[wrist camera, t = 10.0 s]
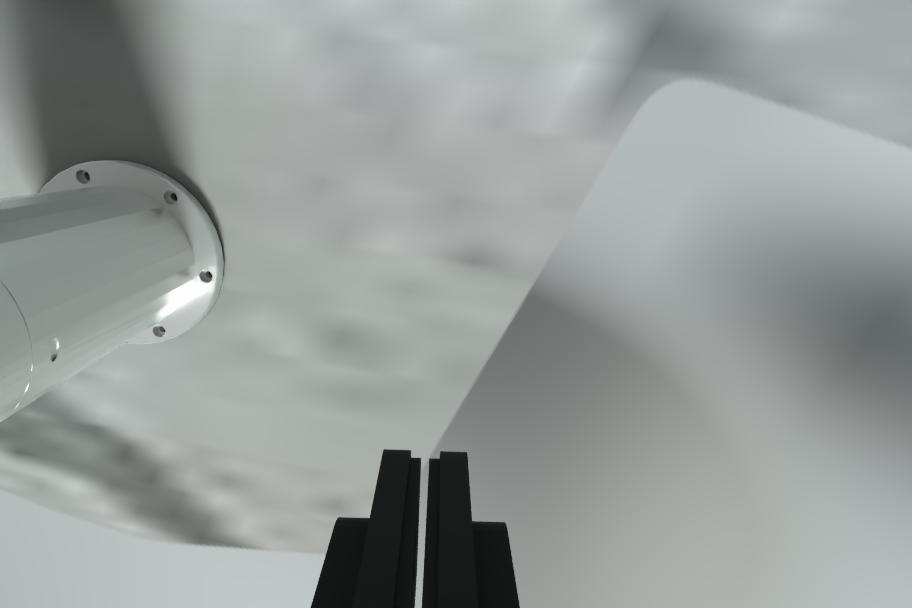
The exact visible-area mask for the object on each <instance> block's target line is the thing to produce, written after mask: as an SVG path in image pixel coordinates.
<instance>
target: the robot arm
mask: <svg viewBox="0 0 912 608" xmlns="http://www.w3.org/2000/svg"><path fill="white" fill-rule="evenodd" d="M89 175H90V177H89ZM174 194H176V195H177V198H178V200H177V199H175V197H174ZM223 267H224V262H223V254H222V246H221V243H220V240H219V237H218V234H217V231H216V229H215V227H214V225H213V223H212V221H211V219H210V217H209V216H208V214H207V212H206V211H205V210H204V208H203V207H202V206H201V205H200V203H199V202H198V201H197V199H196V198H195V197H194V196H193V195H192V194H191V193H190V192H188V191H187V190H186V189H185V188H184V187H183V186H182V185H181V184H179V183H178V182H176V181H175V180H173V179H172V178H170V177H169V176H167V175H166V174H164V173H162V172H160V171H157V170H155V169H153V168H151V167H148V166H146V165H142V164H138V163H134V162H130V161H119V160H102V161H90V162H86V163H81V164H77V165H74V166H72V167H70V168H68V169H66V170H64V171H62V172H60V173H58V174H57V175H56V176H55V177H54V178H52V179H51V180H50V181H49V182H48V183H46V184H45V185H44V187H43V188H42V190H41V191H40V192H39V194H34V195H27V196H19V197H12V198H4V199H0V422H1V421H3V420H4V419H6V418H8V417H9V416H11V415H12V414H14V413H15V412H17V411H19V410H20V409H22V408H23V407H25V406H27V405H28V404H30V403H31V402H33V401H34V400H36V399H38V398H39V397H41V396H42V395H44V394H45V393H47V392H49V391H50V390H52V389H53V388H55V387H57V386H58V385H60V384H61V383H63V382H64V381H66V380H68V379H69V378H71V377H72V376H74V375H75V374H77V373H79V372H80V371H82V370H83V369H85V368H87V367H88V366H90V365H91V364H93V363H94V362H96V361H98V360H99V359H101V358H102V357H104V356H106V355H107V354H109V353H110V352H112V351H113V350H115V349H117V348H118V347H120V346H121V345H123V344H124V343H127V344H151V343H158V342H163V341H166V340H169V339H172V338H174V337H177V336H179V335H180V334H182V333H184V332H185V331H187V330H189V329H190V328H192V327H193V326H194V325H196V324H197V323H198V322H199V321H201V320H202V318H203V317H204V316H205V315H206V314H207V313H208V312H209V310H210V309H211V308H212V306H213V304H214V302H215V300H216V298H217V297H218V294H219V291H220V287H221V284H222V280H223ZM208 271H209V272H210V273H211V274H212V276H210V275H209V273H208ZM420 472H421V458H411V450H385V449H384V451H383V455H382V460H381V465H380V470H379V475H378V480H377V485H376V490H375V495H374V500H373V505H372V510H371V515H370V518H342V517H338V519H337V520H336V523H335V526H334V529H333V533H332V536H331V539H330V543H329V546H328V550H327V553H326V557H325V560H324V564H323V567H322V571H321V574H320V578H319V581H318V585H317V588H316V592H315V595H314V599H313V602H312V605H311V608H414V606H415V593H416V576H417V552H418V526H419V499H420V498H419V497H420ZM427 499H428V500H427V518H426V538H425V559H424V578H423V597H422V608H520V607H519V600H518V594H517V588H516V582H515V576H514V569H513V563H512V556H511V550H510V544H509V537H508V531H507V527H506V524H505V523H504V522H473V521H472V517H471V501H470V487H469V472H468V457H467V452H443V451H441V452H440V459H431V458H430V459H429V479H428V498H427Z"/></svg>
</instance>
